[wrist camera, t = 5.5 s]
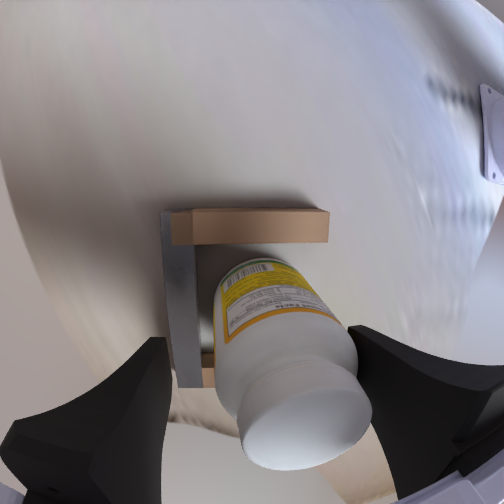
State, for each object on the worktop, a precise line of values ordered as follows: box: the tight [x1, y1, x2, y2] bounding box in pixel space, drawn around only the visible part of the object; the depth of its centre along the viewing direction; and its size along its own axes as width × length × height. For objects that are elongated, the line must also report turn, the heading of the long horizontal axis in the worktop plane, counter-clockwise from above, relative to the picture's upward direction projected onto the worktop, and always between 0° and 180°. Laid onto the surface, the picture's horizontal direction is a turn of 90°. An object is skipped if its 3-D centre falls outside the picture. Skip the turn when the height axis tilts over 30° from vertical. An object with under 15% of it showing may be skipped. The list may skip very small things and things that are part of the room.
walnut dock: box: [160, 208, 330, 388], centre depth 15 cm, size 8×10×2 cm
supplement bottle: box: [213, 258, 372, 470], centre depth 12 cm, size 5×5×10 cm
